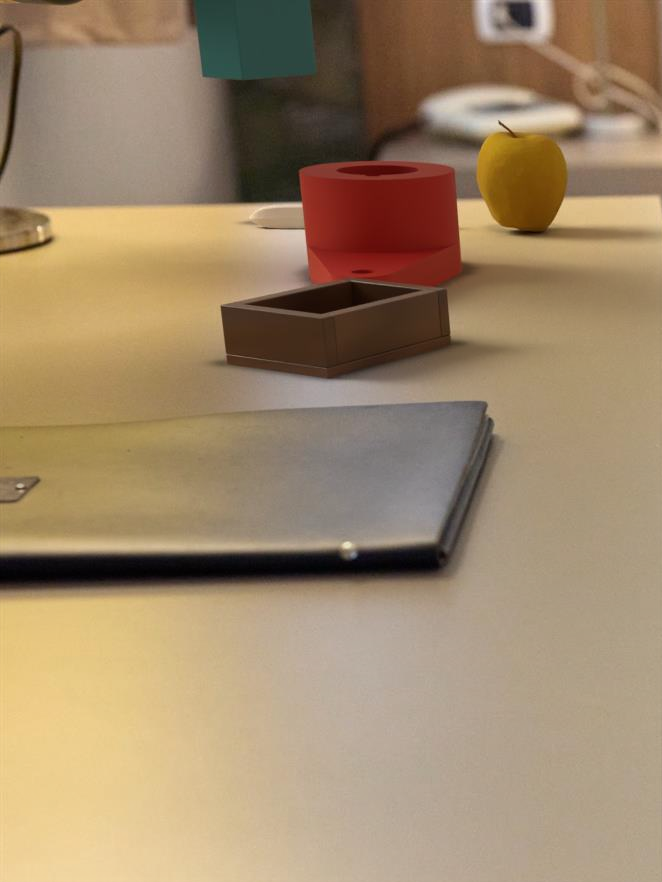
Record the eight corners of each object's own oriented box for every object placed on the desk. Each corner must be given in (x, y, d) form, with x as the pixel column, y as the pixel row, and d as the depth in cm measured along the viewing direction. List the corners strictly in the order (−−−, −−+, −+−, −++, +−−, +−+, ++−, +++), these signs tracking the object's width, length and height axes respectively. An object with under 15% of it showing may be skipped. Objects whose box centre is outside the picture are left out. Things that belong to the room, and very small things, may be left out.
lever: (320, 263, 129) (310, 160, 127) (467, 262, 131) (459, 161, 128) (277, 316, 113) (264, 199, 110) (445, 314, 114) (436, 199, 112)
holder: (328, 383, 98) (322, 318, 96) (227, 369, 100) (219, 304, 99) (452, 349, 106) (447, 288, 105) (355, 336, 108) (350, 276, 107)
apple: (462, 230, 144) (454, 118, 141) (535, 222, 148) (529, 114, 145) (513, 241, 140) (506, 126, 137) (586, 233, 144) (581, 121, 141)
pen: (444, 229, 144) (443, 207, 143) (247, 228, 142) (244, 205, 141) (447, 226, 145) (445, 203, 145) (252, 225, 143) (249, 202, 143)
